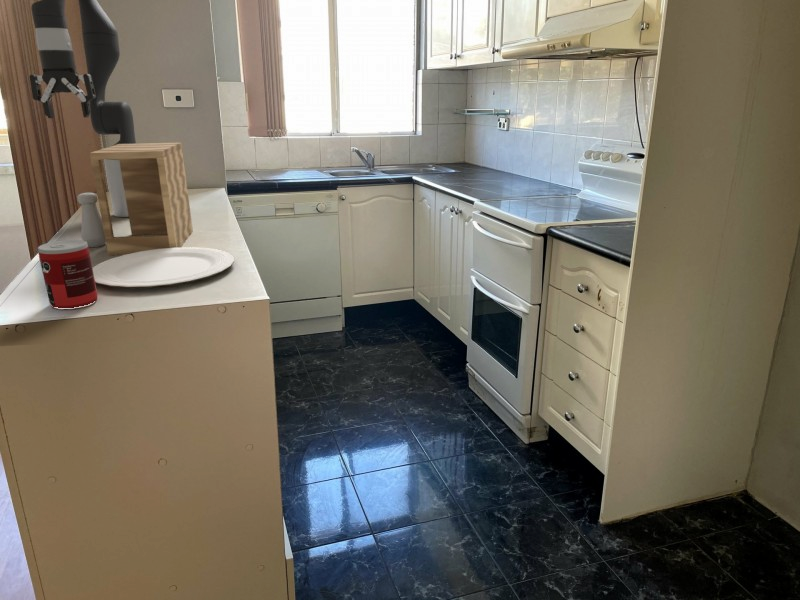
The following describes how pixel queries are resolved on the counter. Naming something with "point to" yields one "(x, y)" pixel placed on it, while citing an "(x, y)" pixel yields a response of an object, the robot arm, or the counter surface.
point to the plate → (161, 267)
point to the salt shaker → (91, 221)
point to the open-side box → (147, 196)
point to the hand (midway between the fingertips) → (68, 117)
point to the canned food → (68, 273)
